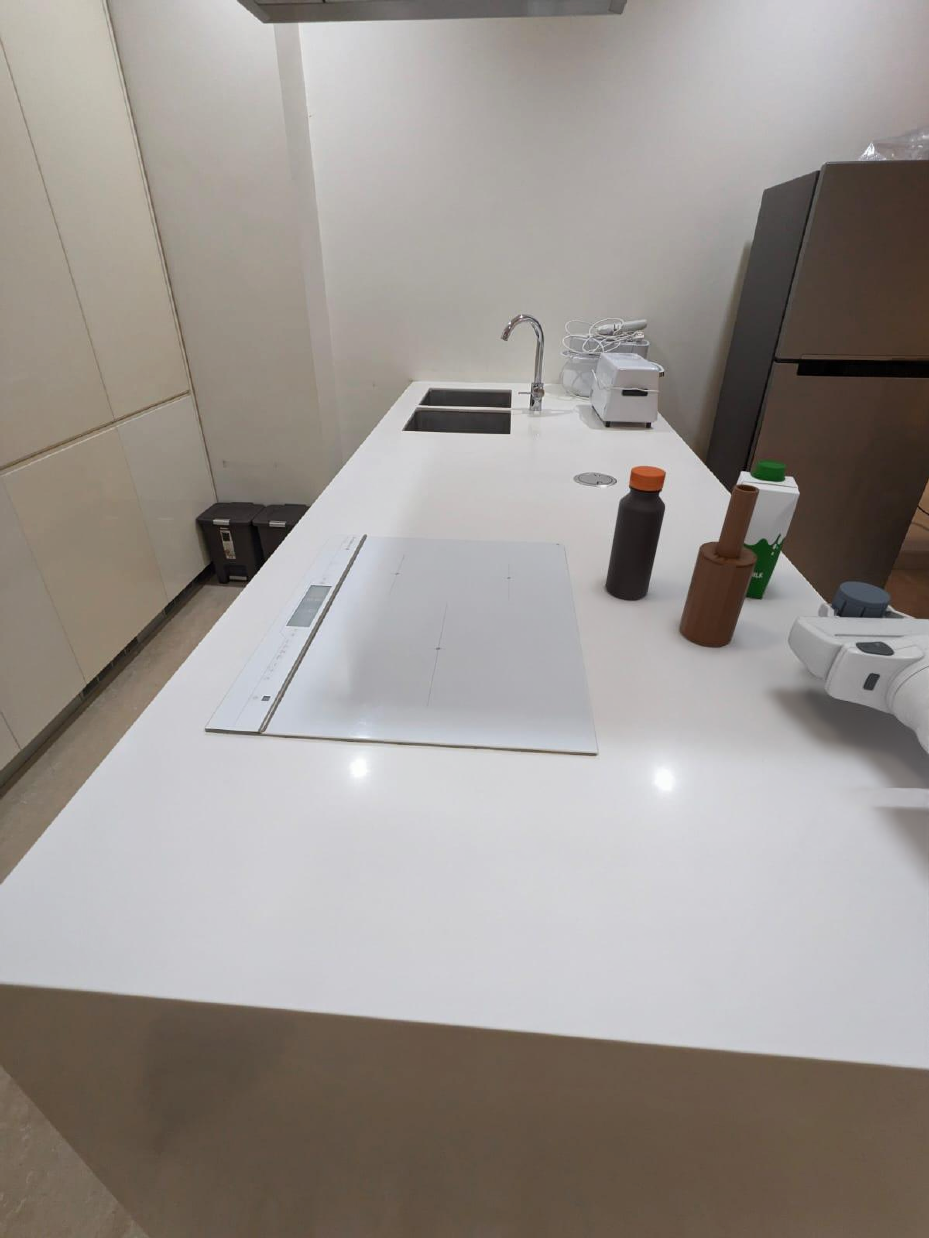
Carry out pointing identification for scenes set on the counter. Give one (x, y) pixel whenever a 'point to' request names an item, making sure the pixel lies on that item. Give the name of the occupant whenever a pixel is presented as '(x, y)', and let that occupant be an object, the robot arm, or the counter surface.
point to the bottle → (721, 576)
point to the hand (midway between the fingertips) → (851, 608)
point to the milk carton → (768, 519)
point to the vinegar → (636, 534)
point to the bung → (861, 600)
